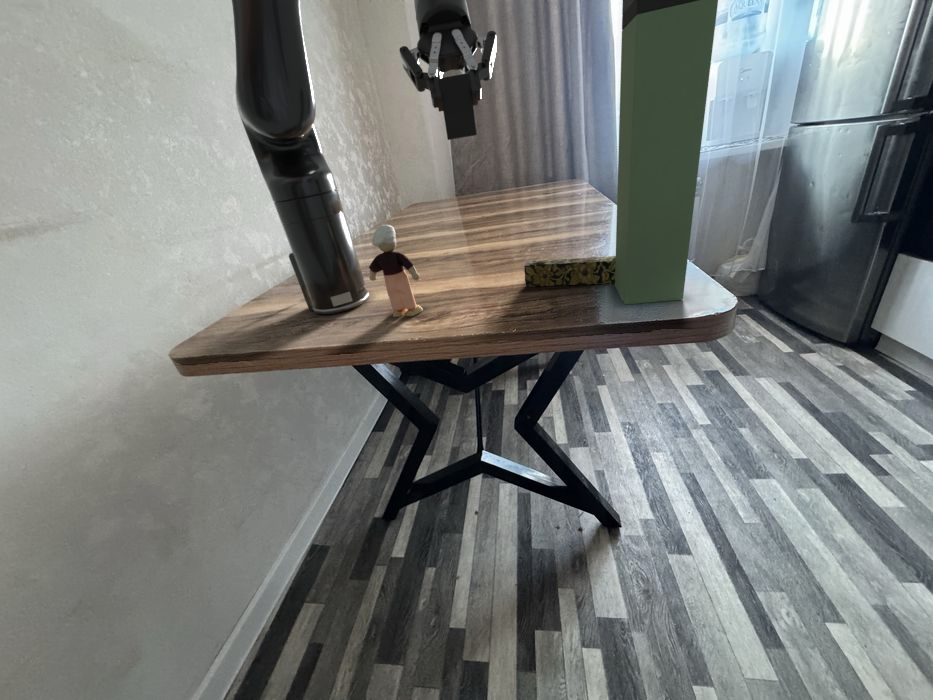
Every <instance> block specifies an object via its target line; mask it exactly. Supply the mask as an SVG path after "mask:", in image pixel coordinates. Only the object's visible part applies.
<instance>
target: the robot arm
mask: <svg viewBox="0 0 933 700" xmlns="http://www.w3.org/2000/svg"><path fill="white" fill-rule="evenodd" d="M413 1H414V3H413V4H414V12H415V21H416V25H417V31H418V38H419V39H418V41H417V43H416V47H413V48H412V49H409V46H407V45H403V46H400V47H399V53H400V59H401V63H402V68H403V70H404V71H405V73H406V74H407V76H408V77H409V79H410V82H412V84H413V86H414V87H415V89H416V90H417V92H420V93H422V92H425V91H426V90H428V91H429V92H430V97H431V104H432V107H433V108H434V109H438V112H443V111H444V110H443V101H442V94H441V90H440V84H439V78H443V76H444V73H447V72H450V71H460V73H461V74H466V73H469V74H470V82H471V92H472V101H473V107H474V106H478V105H479V101H481V100H482V97H483V96H482V93H483V92H482V84H481V81H482V80H483V81H485V82H487V81H489V80H490V79H491V78H492V73H493V68H494V64H495V59H496V53H497V32H496V31H495V30H489V31H488V32H486V33H487V34H486V36H480V35H479V36H478V34H477V33H478V32H476V31H475V30H474V29H473V27H472V21H471V18H470V11H469V8H468V4H467V0H413ZM231 4H232V5H231V6H232V14H233V27H234V28H233V29H234V43H235V44H234V45H235V85H234V86H235V102H236V107H237V111H238V112H237V113H238V114H239V118H240V121H241V123H242V126H243V128H244V131H245V133H246V136H247V139H248V142H249V144H250V146H251V149H252V151H253V154H254V157H255V160H256V161H257V165H258V167H259V169H260V173H261V176H262V178H263V181H264V183H265V185H266V187H267V190H268V191H269V192H268V193H269V194H270V197H271V199H272V202H273V204H274V207H275V211H276V213H277V215H278V218H279V221H280V224H281V226H282V228H283V231H284V234H285V236H286V240H287V242H288V245H289V247H290V249H291V252H289V254H288V258H289V261H290V263H291V267H292V269H293V272H294V274H295V277H296V280H297V282H298V285H299V287H300V291H301V293H302V294H303V297H304V300H305V303H306V305H307V309H308V311H311V312H314V313H315V314H318V315H333V314H339V313H342V312H346V311H349V310H352V309H354V308H357V307H359V306H361V305H363V304H364V303H366V302H367V301H368V300H369V298H370V293H369V290H368V288H367V284H366V281H365V278H364V274H363V271H362V268H361V264H360V262H359V261H360V260H359V258H358V254H357V251H356V247H355V245H354V244H355V243H354V241H353V237H352V234H351V231H350V227H349V224H348V221H347V218H346V214H345V210H344V207H343V204H342V201H341V197H340V195H339V190H338V187H337V183H336V179H335V177H334V174H333V172H332V170H331V167H329V165H328V163H327V161H326V157H325V155H324V153H323V150H322V147H321V143H320V141H319V140H320V139H319V137H318V134H317V131H316V128H315V127H316V126H315V124H314V123H315V119H316V114H317V113H316V110H317V107H316V105H317V104H316V98H315V92H314V87H313V81H312V76H311V71H310V66H309V60H308V53H307V47H306V40H305V35H304V28H303V27H304V26H303V19H302V6H301V4H302V2H301V0H231ZM478 49H479V51H480V54H482V55H481V59H480V62H478V63H477V61H476V60H475V57H474V54H475V53H476V51H477V50H478ZM419 60H421V61H423V62H424V63H426V64H427V65H428V69H427V72H425V71H423V69H422V67H421V65H420V62H419Z"/></svg>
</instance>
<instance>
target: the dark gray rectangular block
mask: <svg viewBox="0 0 933 700" xmlns="http://www.w3.org/2000/svg"><path fill="white" fill-rule="evenodd" d="M439 84H440V90H441V94H442V101H443V110H444V111H442V113H443V118H444V124H445V131H446V138H447V141H451V140H457V139H463V138H469V137H474V136H477V126H476V125H477V124H476V116H475V108H474V106H473V101H472V92H471V82H470V74H469V73H466V74H462V73H461V74H456V75H449V76H444V77H442V78H439Z"/></svg>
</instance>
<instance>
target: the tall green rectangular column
mask: <svg viewBox="0 0 933 700" xmlns="http://www.w3.org/2000/svg"><path fill="white" fill-rule="evenodd" d="M718 5H719V0H622V7H621V9H622V10H621V12H622V13H621V15H622V17H621V45H620V47H621V51H620V82H619V83H620V84H619V85H620V86H619V87H620V88H619V117H618V118H619V120H618V121H619V123H618V156H617V157H618V158H617V160H618V161H617V189H616V192H617V195H616V200H617V201H616V228H615V230H616V231H615V233H616V234H615V256H616V263H615V283H614V287H615V289H616V291H617V292H618V295H619V296H620V298H621V300H622V303H623V304H624V305H635V304H647V303H648V304H649V303H658V302H659V303H661V302H671V301H672V302H673V301H681V300H684V294H685V285H686V277H687V270H688V269H687V267H688V259H689V252H690V251H689V250H690V241H691V235H692V234H691V233H692V226H693V216H694V208H695V200H696V191H697V182H698V176H699V167H700V158H701V148H702V142H703V141H702V140H703V131H704V124H705V115H706V107H707V100H708V99H707V98H708V89H709V81H710V73H711V66H712V58H713V57H712V56H713V48H714V47H713V46H714V41H715V40H714V39H715V31H716V22H717V13H718Z"/></svg>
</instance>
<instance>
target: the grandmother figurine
mask: <svg viewBox="0 0 933 700" xmlns="http://www.w3.org/2000/svg"><path fill="white" fill-rule="evenodd" d="M396 235H397V233H396V230H395V228H394V226H392V225H390V224H381V225H379V226H378V227H377V228H376V229H375V231H374V232H373V235H372V242H371V244H372V245H373V246H374V247H377V248H378V249H379V250H380V251H381V253H379V254H377V255H375V257H374V259H373V260H371V263H370V265H368V268H369V277H368V278H369V280H370V281H373V282H374V281H376V280H377V275H378V273H380V272H381V271H382V273H383V280H384V283H385V288H386V292H387V296H388V299H389V301H390V306H391V308H392V310H393V313H392V317H393V318H400V317H402V316H404V315H405V316H406V317H414V316H416V315H418V314H420V313H422V312H423V311H424V309H423V307H422V306H421V305H419V304H417V302H416V298H415V296H414V293H413V289H412V286H411V282H410V279H409V276H408V274H407V272H406V271H408V273H409V275H411V278H412V280H414V281H418V280H419V279H420V274H419V273H418V271H417V269H416V267H415V264H414V263H413V262H412V261H411V260H410V258H409V257H408V256H407V255H406V254H404V253H403V252H400V251H396V250H395V249H396V247H397V236H396ZM405 313H406V314H405Z"/></svg>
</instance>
